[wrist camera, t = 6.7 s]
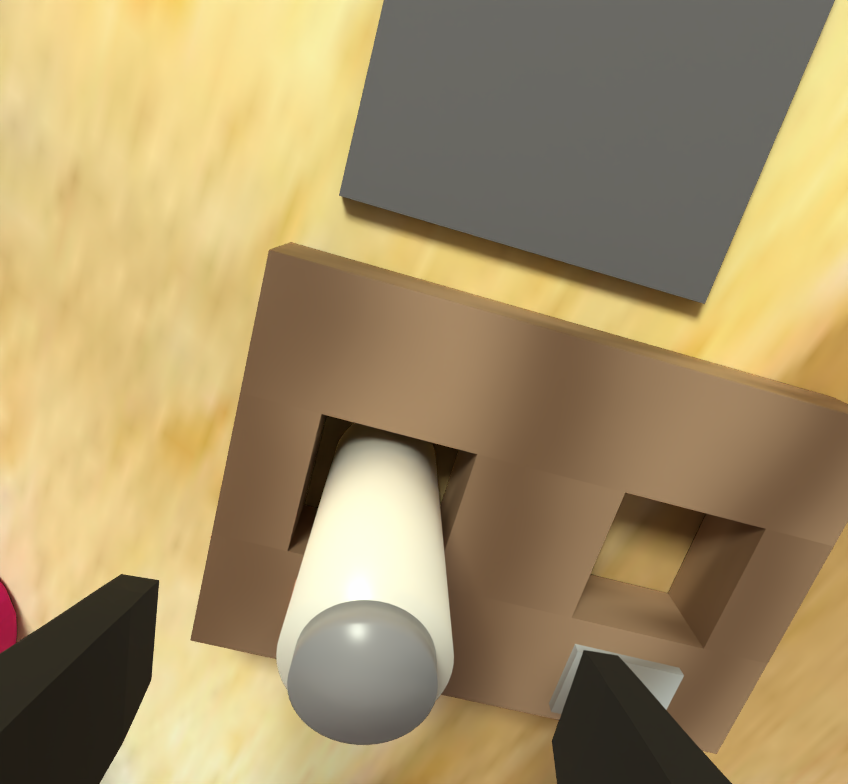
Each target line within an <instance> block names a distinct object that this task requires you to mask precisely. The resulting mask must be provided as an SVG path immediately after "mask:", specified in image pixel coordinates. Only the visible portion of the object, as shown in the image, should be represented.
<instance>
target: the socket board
mask: <svg viewBox="0 0 848 784" xmlns="http://www.w3.org/2000/svg"><path fill="white" fill-rule="evenodd" d="M327 415H328V416H332V417H335V418H339V419H343V420H347V421H351V422H355V423H359V424H362V425H366V426H370V427H374V428H378V429H382V430H386V431H390V432H393V433H397V434H401V435H405V436H409V437H413V438H417V439H420V440H424V441H428V442H432V443H436V444H440V445H444V446H447V447H451V448H455V449H459V451H458V454H457V457H456V460H455V463H454V466H453V469H452V472H451V475H450V478H449V481H448V484H447V487H446V490H445V493H444V496H443V499H442V502H441V506H440V510H441V521H442V532H443V543H444V554H445V564H446V575H447V586H448V597H449V608H450V618H451V629H452V640H453V651H454V664H453V669H452V674H451V677H450V679H449V682H448V684H447V686H446V687H445V689H444V691H443V692H442V694H441V695H446V696H451V697H455V698H460V699H465V700H469V701H474V702H478V703H483V704H488V705H492V706H497V707H502V708H506V709H511V710H515V711H520V712H525V713H529V714H534V715H539V716H543V717H548V718H553V719H557V720H559V719H560V716H561V714H562V711H563V708H564V705H565V702H566V699H567V696H568V694H569V691H570V688H571V685H572V682H573V679H574V676H575V674H576V671H577V668H578V665H579V662H580V659H581V656H582V654H583V651H584V650H588V651H594V652H600V653H606V654H612V655H618V656H619V657H620V658H621V659H622V660H623V661H624V662H625V663H626V665H627V666H628V667H629V668H630V669H631V670H632V671H633V672H634V673H635V675H636V676H637V677H638V678H639V679H640V680H641V681H642V683H643V684H644V685H645V686H646V687H647V688H648V689H649V691H650V692H651V693H652V694H653V695H654V696H655V698H656V699H657V700H658V701H659V702H660V703H661V704H662V706H663V707H664V708H665V709H666V710H667V711H668V713H669V714H670V715H671V716H672V717H673V718H674V719H675V721H676V722H677V723H678V724H679V725H680V726H681V728H682V729H683V730H684V731H685V732H686V733H687V734H688V736H689V737H690V738H691V739H692V740H693V741H694V742H695V743H696V745H697V746H698V747H699V748H700V749H701V750H702V751H705V752H710V753H715V754H717V752H718V751H719V749H720V747H721V745H722V744H723V742H724V740H725V738H726V736H727V735H728V733H729V731H730V729H731V728H732V726H733V724H734V722H735V720H736V719H737V717H738V715H739V713H740V712H741V710H742V708H743V706H744V704H745V703H746V701H747V699H748V697H749V696H750V694H751V692H752V690H753V689H754V687H755V685H756V683H757V681H758V680H759V678H760V676H761V674H762V673H763V671H764V669H765V667H766V665H767V664H768V662H769V660H770V658H771V657H772V655H773V653H774V651H775V650H776V648H777V646H778V644H779V642H780V641H781V639H782V637H783V635H784V634H785V632H786V630H787V628H788V626H789V625H790V623H791V621H792V619H793V618H794V616H795V614H796V612H797V610H798V609H799V607H800V605H801V603H802V602H803V600H804V598H805V596H806V595H807V593H808V591H809V589H810V587H811V586H812V584H813V582H814V580H815V579H816V577H817V575H818V573H819V571H820V570H821V568H822V566H823V564H824V563H825V561H826V559H827V557H828V556H829V554H830V552H831V550H832V548H833V547H834V545H835V543H836V541H837V540H838V538H839V536H840V534H841V532H842V531H843V529H844V527H845V525H846V524H847V522H848V404H846V403H844V402H842V401H840V400H838V399H836V398H833V397H830V396H827V395H823V394H820V393H816V392H813V391H809V390H806V389H802V388H799V387H795V386H792V385H788V384H785V383H781V382H778V381H774V380H771V379H767V378H764V377H760V376H757V375H753V374H750V373H746V372H743V371H739V370H736V369H732V368H729V367H725V366H722V365H718V364H715V363H711V362H708V361H704V360H701V359H697V358H694V357H690V356H687V355H683V354H680V353H676V352H673V351H669V350H666V349H662V348H659V347H655V346H652V345H648V344H645V343H641V342H638V341H634V340H631V339H627V338H624V337H620V336H617V335H613V334H610V333H606V332H603V331H599V330H596V329H592V328H589V327H585V326H582V325H578V324H575V323H572V322H568V321H565V320H561V319H558V318H554V317H551V316H547V315H544V314H540V313H537V312H533V311H530V310H526V309H523V308H519V307H516V306H512V305H509V304H505V303H502V302H498V301H495V300H491V299H488V298H484V297H481V296H477V295H474V294H470V293H467V292H463V291H460V290H456V289H453V288H449V287H446V286H442V285H439V284H435V283H432V282H428V281H425V280H421V279H418V278H414V277H411V276H407V275H404V274H400V273H397V272H393V271H390V270H386V269H383V268H379V267H376V266H372V265H369V264H365V263H362V262H358V261H355V260H351V259H348V258H344V257H341V256H337V255H334V254H330V253H327V252H323V251H320V250H316V249H313V248H309V247H306V246H302V245H299V244H295V243H292V242H291V243H288V244H285V245H282V246H279V247H276V248H273V249H270V250H269V253H268V258H267V263H266V268H265V273H264V278H263V283H262V288H261V293H260V297H259V302H258V307H257V312H256V317H255V322H254V327H253V332H252V337H251V342H250V347H249V352H248V357H247V362H246V367H245V372H244V377H243V382H242V387H241V392H240V397H239V402H238V407H237V412H236V417H235V422H234V427H233V431H232V436H231V441H230V446H229V451H228V456H227V461H226V466H225V471H224V476H223V481H222V486H221V491H220V496H219V501H218V506H217V511H216V516H215V521H214V526H213V531H212V536H211V541H210V546H209V551H208V556H207V561H206V566H205V570H204V575H203V580H202V585H201V590H200V595H199V600H198V605H197V610H196V615H195V620H194V625H193V630H192V635H191V641H196V642H200V643H205V644H210V645H214V646H219V647H224V648H228V649H233V650H237V651H242V652H247V653H251V654H256V655H261V656H265V657H270V658H275V659H277V657H276V653H277V644H278V640H279V637H280V633H281V630H282V627H283V623H284V620H285V617H286V613H287V610H288V607H289V603H290V600H291V597H292V593H293V590H294V587H295V583H296V580H297V577H298V574H299V570H300V567H301V564H302V560H303V557H304V554H305V550H306V547H307V544H308V540H309V537H310V534H311V530H312V527H313V524H314V520H315V517H316V514H317V511H318V508H314V507H310V506H306V505H304V504H305V500H306V496H307V492H308V488H309V484H310V480H311V476H312V472H313V468H314V464H315V460H316V456H317V452H318V448H319V444H320V440H321V436H322V432H323V428H324V424H325V420H326V416H327ZM625 493H629V494H633V495H637V496H641V497H645V498H649V499H652V500H656V501H660V502H664V503H668V504H672V505H676V506H679V507H683V508H687V509H691V510H695V511H699V512H703V513H706V515H705V517H704V519H703V522H702V524H701V526H700V528H699V530H698V532H697V534H696V536H695V538H694V540H693V542H692V544H691V546H690V549H689V551H688V553H687V555H686V557H685V559H684V561H683V563H682V565H681V567H680V569H679V571H678V574H677V576H676V578H675V580H674V582H673V584H672V586H671V588H670V590H669V592H668V593H665V592H660V591H656V590H652V589H648V588H644V587H640V586H636V585H632V584H627V583H623V582H619V581H615V580H611V579H607V578H603V577H599V576H594V575H590V574H591V571H592V569H593V567H594V564H595V562H596V560H597V557H598V555H599V553H600V550H601V548H602V546H603V543H604V541H605V539H606V536H607V534H608V532H609V529H610V527H611V525H612V522H613V520H614V518H615V515H616V513H617V511H618V508H619V506H620V504H621V501H622V499H623V497H624V495H625Z"/></svg>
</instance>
